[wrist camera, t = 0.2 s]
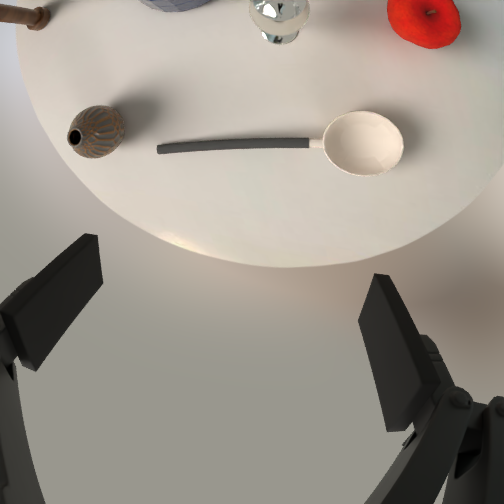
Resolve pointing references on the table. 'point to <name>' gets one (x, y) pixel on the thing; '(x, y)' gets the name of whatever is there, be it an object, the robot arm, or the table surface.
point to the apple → (425, 21)
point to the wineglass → (279, 18)
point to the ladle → (329, 143)
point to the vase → (96, 132)
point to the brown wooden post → (25, 16)
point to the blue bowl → (173, 4)
